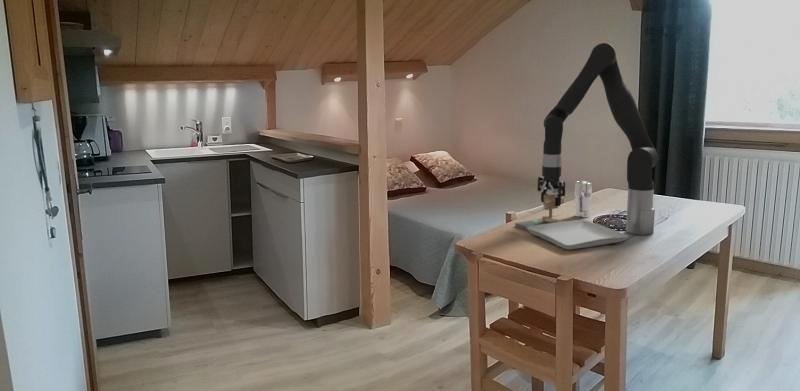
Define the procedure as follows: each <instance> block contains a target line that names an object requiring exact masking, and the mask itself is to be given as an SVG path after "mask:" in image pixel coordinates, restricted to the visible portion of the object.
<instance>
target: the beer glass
mask: <svg viewBox="0 0 800 391" xmlns="http://www.w3.org/2000/svg"><path fill="white" fill-rule="evenodd" d="M592 189H593V187H592V181H590V180H575V185H574V199H575V211H574V212H575V213H574V216H575V217H576V218H589V217H590V209H589V208H590V203H591V197H592V191H593V190H592Z"/></svg>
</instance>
